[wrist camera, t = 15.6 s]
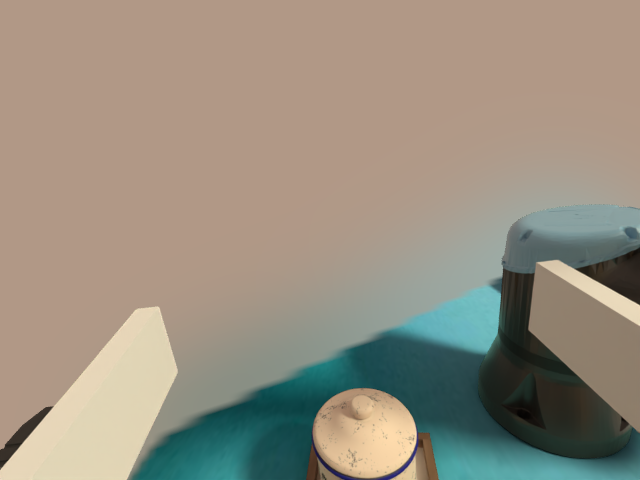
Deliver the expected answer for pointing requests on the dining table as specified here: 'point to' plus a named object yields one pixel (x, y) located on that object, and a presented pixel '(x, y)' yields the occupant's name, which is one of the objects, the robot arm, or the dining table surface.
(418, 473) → the walnut tray
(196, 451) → the dining table surface
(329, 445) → the teacup with lid
